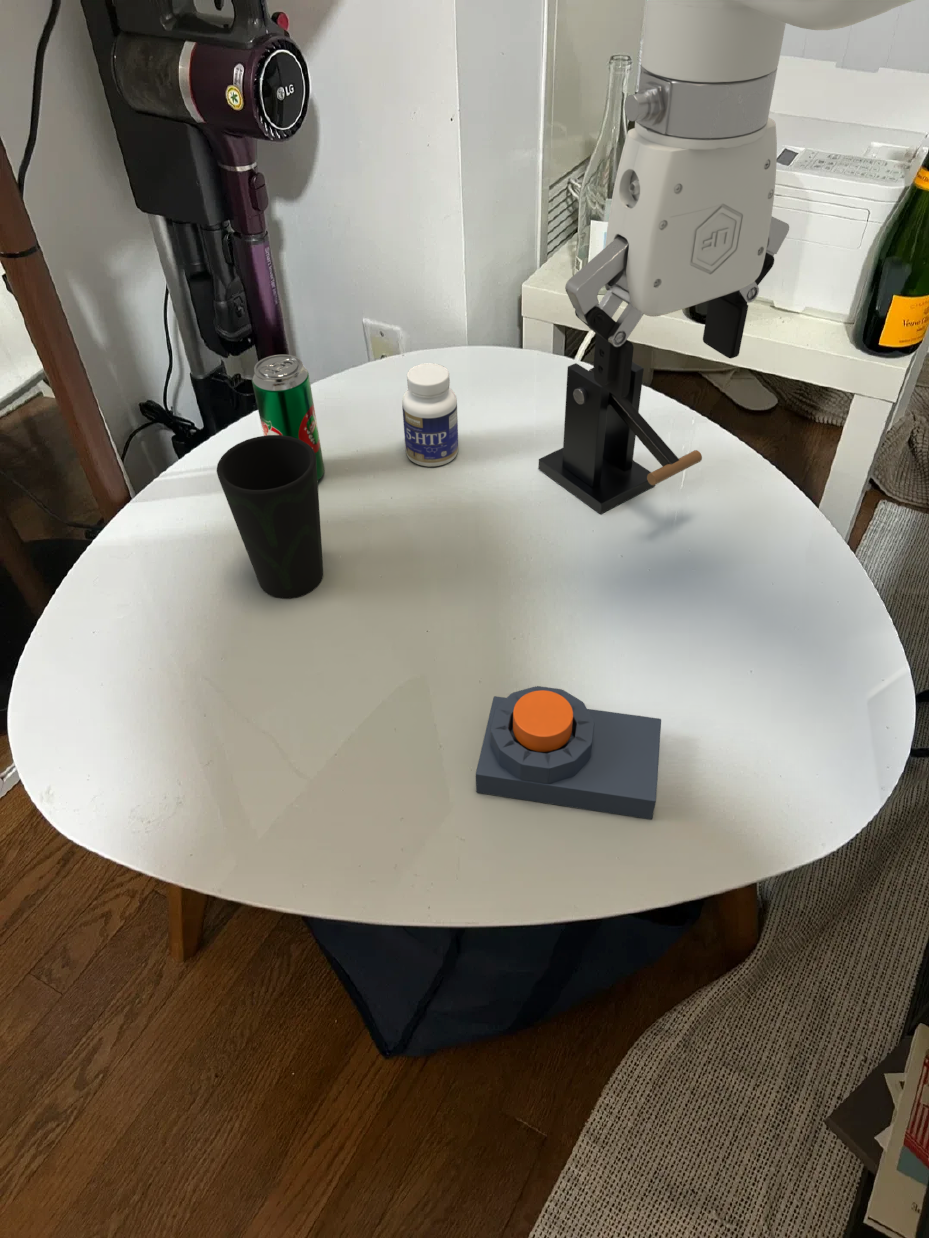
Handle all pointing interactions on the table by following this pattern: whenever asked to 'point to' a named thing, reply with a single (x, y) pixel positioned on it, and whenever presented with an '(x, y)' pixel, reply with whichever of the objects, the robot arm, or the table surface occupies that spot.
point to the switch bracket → (597, 444)
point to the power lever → (652, 442)
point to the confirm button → (542, 721)
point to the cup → (276, 511)
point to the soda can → (287, 401)
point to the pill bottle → (430, 416)
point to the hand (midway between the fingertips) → (666, 369)
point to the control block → (574, 760)
